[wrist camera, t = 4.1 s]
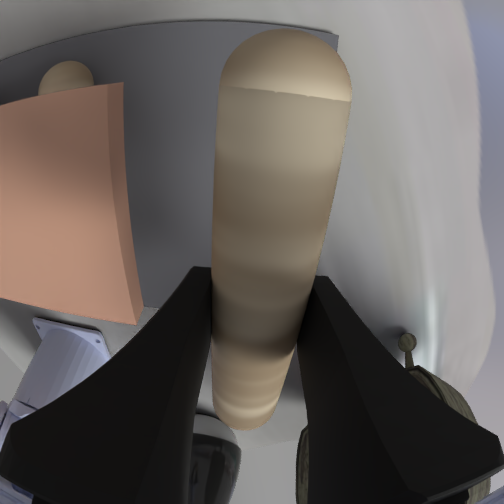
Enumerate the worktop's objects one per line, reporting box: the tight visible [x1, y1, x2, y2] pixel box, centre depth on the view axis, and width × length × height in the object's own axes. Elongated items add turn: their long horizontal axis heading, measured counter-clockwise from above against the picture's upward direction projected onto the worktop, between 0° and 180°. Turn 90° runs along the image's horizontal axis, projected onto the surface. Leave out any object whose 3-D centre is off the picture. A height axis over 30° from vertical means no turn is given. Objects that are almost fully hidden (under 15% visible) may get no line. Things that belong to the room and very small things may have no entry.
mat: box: [0, 21, 339, 308], centre depth 16 cm, size 18×40×1 cm, turn 85°
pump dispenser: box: [188, 414, 241, 504], centre depth 26 cm, size 10×10×15 cm
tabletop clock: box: [296, 333, 490, 504], centre depth 16 cm, size 14×9×25 cm, turn 142°
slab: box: [0, 82, 144, 325], centre depth 12 cm, size 12×16×2 cm
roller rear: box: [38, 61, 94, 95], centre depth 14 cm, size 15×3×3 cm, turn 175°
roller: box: [211, 28, 352, 430], centre depth 9 cm, size 15×3×3 cm, turn 175°
